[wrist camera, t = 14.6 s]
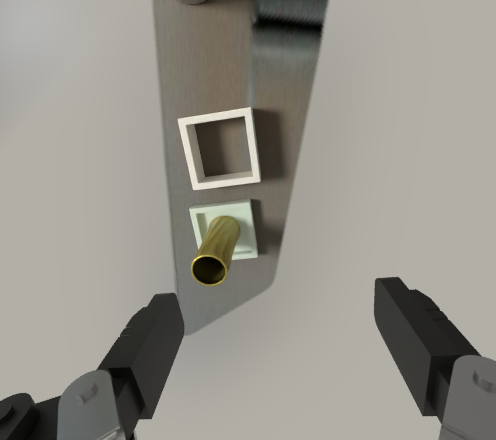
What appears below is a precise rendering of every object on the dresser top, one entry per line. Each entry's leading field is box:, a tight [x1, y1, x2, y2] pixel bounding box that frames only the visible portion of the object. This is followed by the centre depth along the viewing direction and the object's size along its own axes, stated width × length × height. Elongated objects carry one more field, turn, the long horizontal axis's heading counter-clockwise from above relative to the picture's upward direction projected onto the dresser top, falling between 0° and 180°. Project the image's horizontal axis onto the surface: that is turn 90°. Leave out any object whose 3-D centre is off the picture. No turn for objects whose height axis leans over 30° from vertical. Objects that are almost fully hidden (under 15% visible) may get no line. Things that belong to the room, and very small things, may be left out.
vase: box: [191, 216, 241, 286], centre depth 44 cm, size 6×6×14 cm
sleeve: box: [178, 107, 261, 190], centre depth 43 cm, size 11×11×5 cm
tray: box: [189, 199, 258, 260], centre depth 50 cm, size 11×11×2 cm
